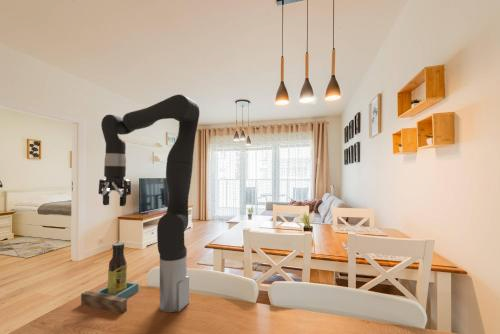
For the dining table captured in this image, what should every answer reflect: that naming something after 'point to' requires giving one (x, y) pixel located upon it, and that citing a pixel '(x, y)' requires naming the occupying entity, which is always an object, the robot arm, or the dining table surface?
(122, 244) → the sauce bottle
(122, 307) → the walnut rail
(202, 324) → the dining table surface
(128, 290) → the square collar
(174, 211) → the robot arm
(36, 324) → the dining table surface
